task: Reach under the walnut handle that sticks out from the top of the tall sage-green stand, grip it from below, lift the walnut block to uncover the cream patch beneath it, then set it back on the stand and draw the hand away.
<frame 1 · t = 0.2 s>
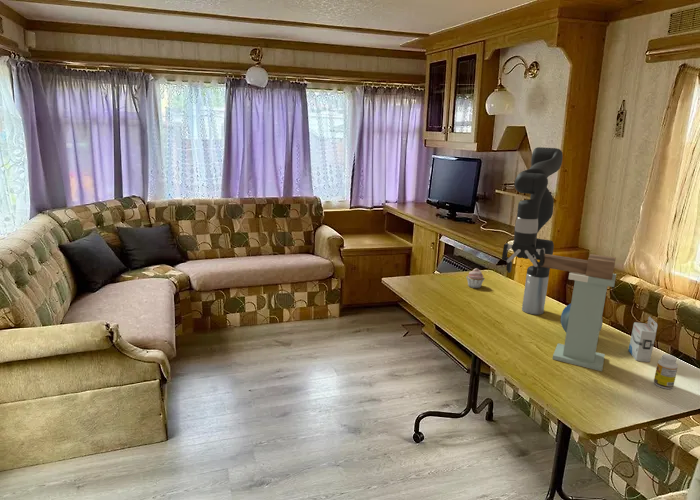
hand: (521, 274, 177), 29 cm above the table, tool pointing down, fingers open, 8 cm apart
cupcake: (474, 286, 253), on the table
ink box: (638, 357, 181), on the table
decorative ball: (578, 338, 195), on the table
stand: (578, 358, 178), on the table
walnut block: (592, 273, 170), point 32 cm above the table, touching stand
supplement bottle: (663, 385, 161), on the table
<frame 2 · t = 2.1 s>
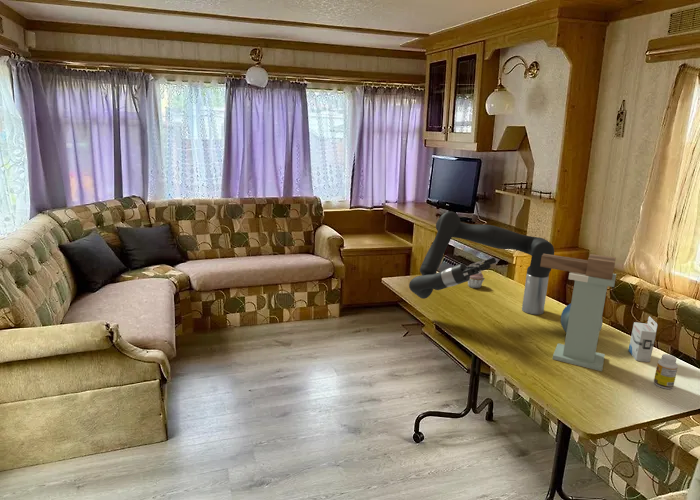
hand: (492, 262, 190), 29 cm above the table, tool pointing upward, fingers open, 8 cm apart
nothing on the table moved.
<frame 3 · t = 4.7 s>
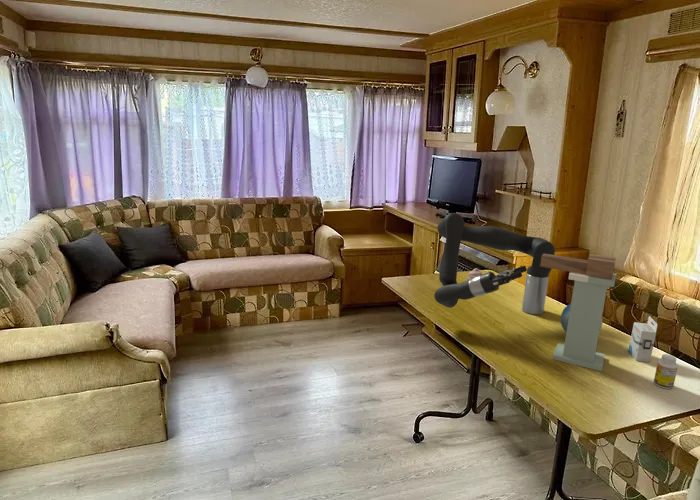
hand: (523, 270, 181), 29 cm above the table, tool pointing upward, fingers open, 8 cm apart
nothing on the table moved.
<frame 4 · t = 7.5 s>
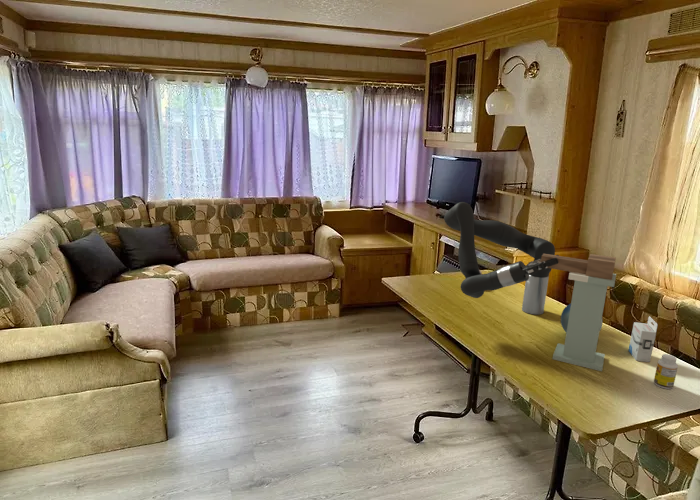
hand: (558, 258, 174), 35 cm above the table, tool pointing upward, fingers closed on walnut block, 4 cm apart
walnut block: (592, 273, 170), point 32 cm above the table, touching gripper, stand
everything else where it was.
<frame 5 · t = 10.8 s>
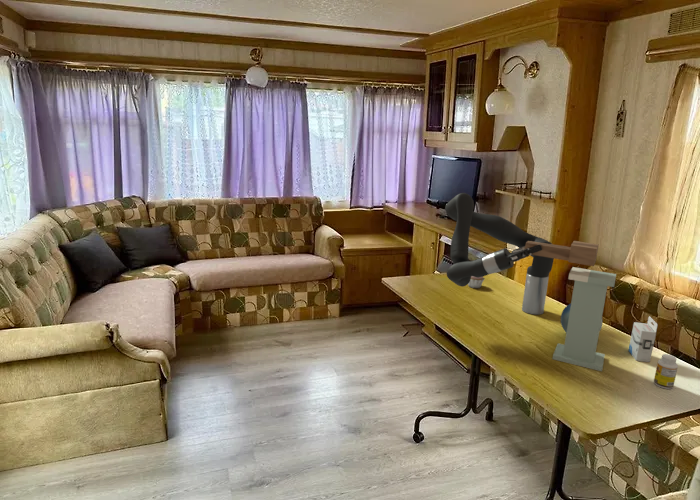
hand: (542, 245, 176), 39 cm above the table, tool pointing upward, fingers closed on walnut block, 4 cm apart
walnut block: (575, 260, 171), point 36 cm above the table, touching gripper
everything else where it was.
when the fingers open (36 cm above the table, at t = 14.2 s): walnut block stays where it is, resting on stand.
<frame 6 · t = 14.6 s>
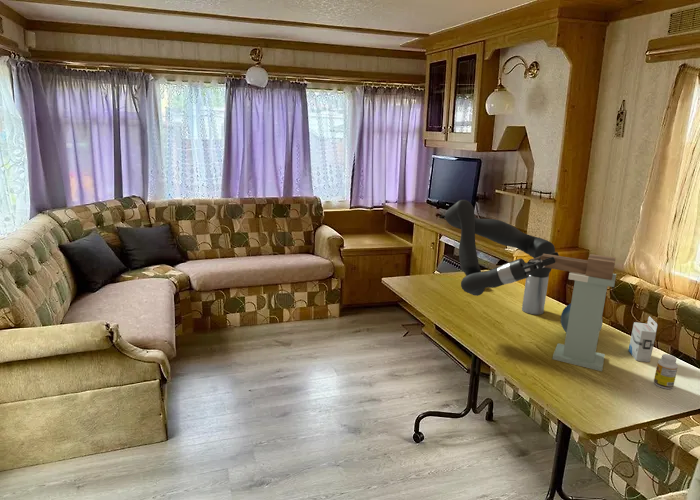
hand: (556, 256, 174), 36 cm above the table, tool pointing upward, fingers open, 8 cm apart
walnut block: (592, 273, 170), point 32 cm above the table, touching stand
everything else where it was.
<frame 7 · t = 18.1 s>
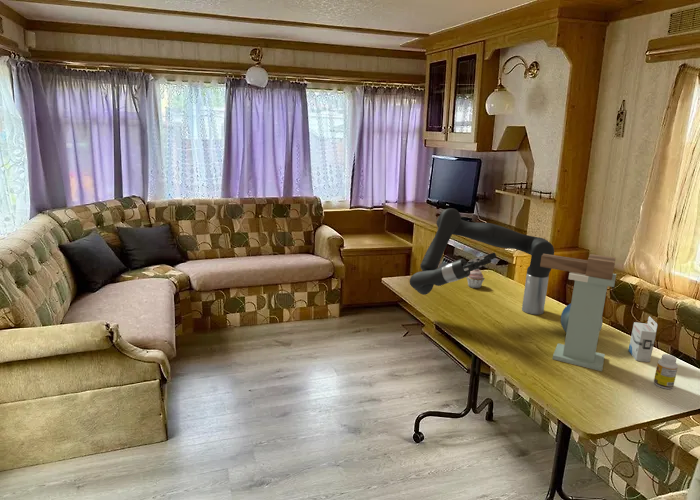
hand: (493, 257, 190), 31 cm above the table, tool pointing upward, fingers open, 8 cm apart
nothing on the table moved.
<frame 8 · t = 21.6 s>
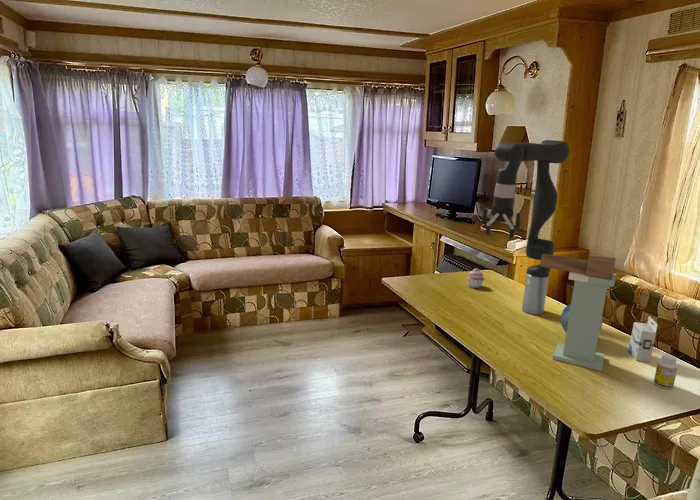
hand: (499, 236, 193), 38 cm above the table, tool pointing down, fingers open, 8 cm apart
nothing on the table moved.
at the end: walnut block 0.1 cm from the target spot, point 32.0 cm above the table; walnut block tilted 0°; the gripper is holding nothing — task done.
